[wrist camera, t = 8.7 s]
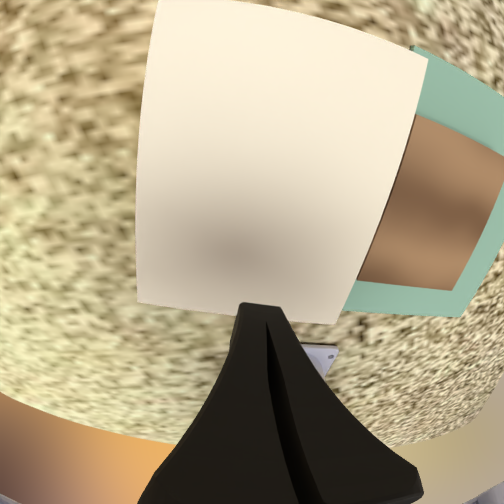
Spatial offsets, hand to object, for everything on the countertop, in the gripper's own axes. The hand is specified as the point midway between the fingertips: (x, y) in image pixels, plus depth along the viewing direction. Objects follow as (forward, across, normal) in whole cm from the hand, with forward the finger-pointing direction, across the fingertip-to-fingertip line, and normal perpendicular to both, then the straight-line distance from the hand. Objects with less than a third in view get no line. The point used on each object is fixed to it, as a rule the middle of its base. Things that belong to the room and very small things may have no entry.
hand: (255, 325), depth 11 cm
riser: (+9, 0, -3) cm, 9 cm away
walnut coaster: (+8, -11, -3) cm, 14 cm away
